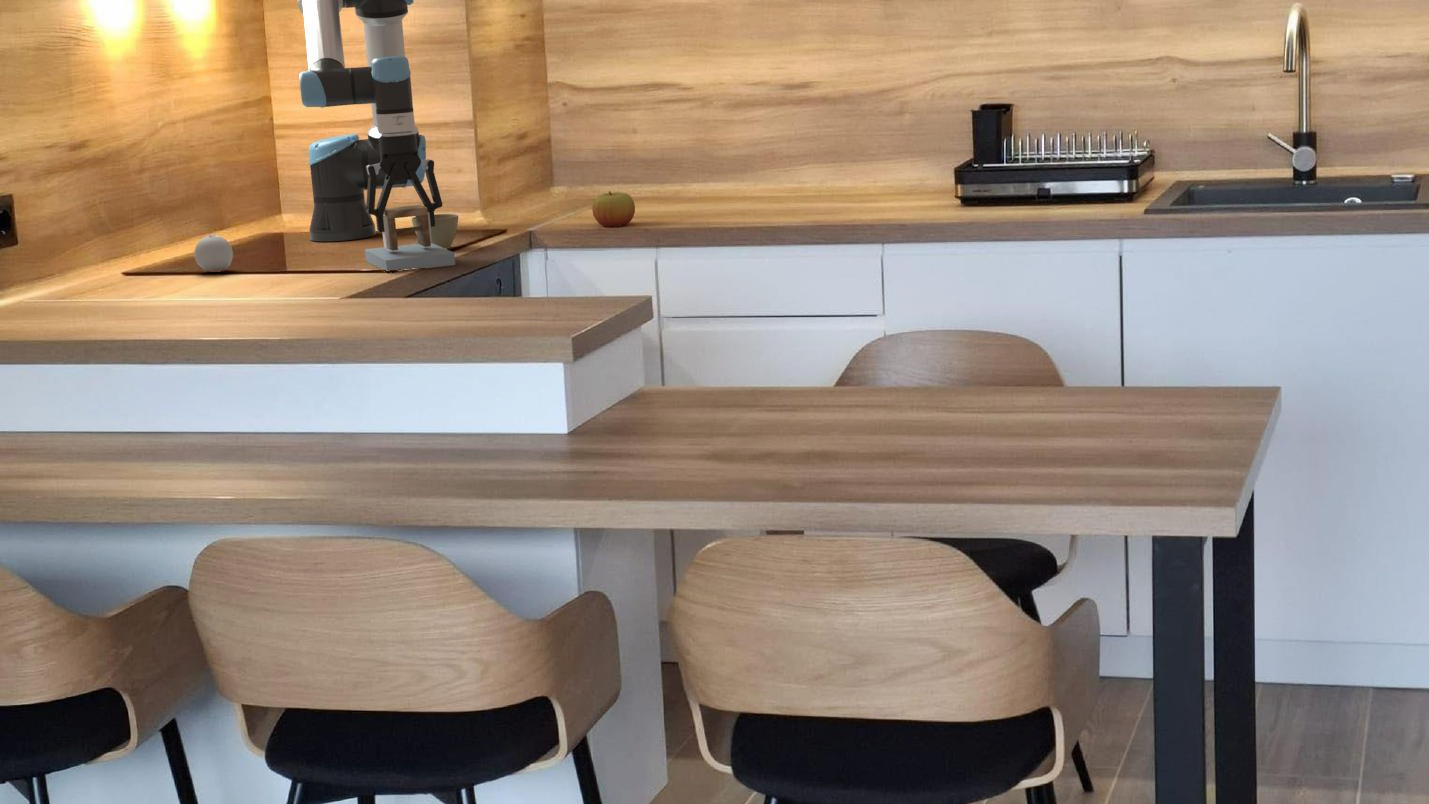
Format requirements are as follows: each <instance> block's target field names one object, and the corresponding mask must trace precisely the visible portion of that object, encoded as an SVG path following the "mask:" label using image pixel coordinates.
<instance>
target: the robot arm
mask: <svg viewBox="0 0 1429 804" xmlns="http://www.w3.org/2000/svg"><path fill="white" fill-rule="evenodd" d="M412 4H414V0H297V6H298V8H299V11H300V12H301V13H302V15H303V23H304V34H305V47H306V59H307V69H308V70H303V71H301V72H299V75H298V77H299V79H298V80H299V89H300V97H301V98H300V99H301V103H302V105H303V106H304V107H306V108H328V107H331V108H332V107H340V106H341V107H343V106H351V105H352V106H353V105H367V104H369V105H371V113H372V123H373V124H372V126H371V127H370V128H369V129H368V131H367V138H366V139H360V136H359V135H358V134H357V133H350V134H344V135H338V136H333V137H328V138H323V139H320V140H317V141H315V142H313V143H311V144H310V145H309V146H308V147H309V148H308V158H309V159H308V166H310V167H309V168H310V169H309V170H310V177H311V179H310V180H311V188H312V197H313V210H312V211H313V212H312V215H311V216H312V217H311V219H310V225H309V231H308V232H309V240H310V241H312V242H343V241H352V240H359V239H360V240H361V239H365V238H371V237H375V235H377V232H378V233H382V242H383V243H382V244H383V247H385V248H387V249H389V248H390V239H389V229H388V219H387V216H385V215H383V214H384V211H385V208H386V207H387V205H388V201H389V199H390V194H391V192H392V189H394V188H395V189H396V188H403V189H406V188H408V187H413V188H414V189H415V191H416V193H417V195H418V197H419V199H420V201H421V203H422V205H423V206H425V207H427V212H428V222H429V232H430V243H431V244H432V235H431V227H434V226H435V217H434V214H435V210H437V209H439V208H442V207H443V201H442V198H441V194H440V190H439V186H438V183H437V179H436V174H435V161H434V160H433V159H430V158H429V159H428V158H427V151H426V150H427V148H426V147H427V142H426V141H427V140H426V136H425V135H423V134H419V133H420V132H419V128H418V126H416V122H415V114H414V106H413V104H414V103H413V93H412V92H413V91H412V80H411V79H412V78H411V74H412V72H411V68H410V63H409V59H408V57H406V51H405V50H406V48H405V40H404V39H405V38H404V30H403V19H404V18H405V17H406V16H407V15H408V13H409V9H408V8H409V7H408V6H410V5H412ZM345 8H346V9H348V8H351V9H352V8H354V11H355V17H357V18H358V19H359V20H361V21H362V24H363V31H364V32H363V33H364V41H365V52H366V63H367V66H359V67H357V66H356V67H346V65H345V64H346V63H345V55H344V45H343V37H342V36H343V35H342V27H341V19H340V16H341V15H340V13H341V11H342V10H343V9H345ZM426 158H427V159H426ZM425 176H426V179H427V183H428V187H429V188H428V189H429V191H430V194H431V195H430V196H431V199H432V201H431V199H430V197H429V196H428V194H427V192H426V190H425V188H424V187H423V185H422V183H423V182H424V180H425ZM377 190H381V193H380V195H379V199H378V202H377V205H376V192H377ZM365 191H367V192H366V198H365ZM365 199H366V200H365ZM375 207H376V208H375ZM371 215H372V216H375V220H376V221H374V220H373V218H372V216H371ZM375 222H376V225H375ZM376 230H377V231H376Z"/></svg>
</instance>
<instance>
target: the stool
mask: <svg viewBox="0 0 1429 804" xmlns="http://www.w3.org/2000/svg"><path fill="white" fill-rule="evenodd" d="M383 215H385V216H387V219H388V229H389V239H390V248H389V249H390V250H392V251H394V250H398V246H399V245H398V235H397V234H401V233H402V234H403V233H411V232H412V233H413V232H415V231H417V235H416V237H417V244H420V245H422V246H424V247H429V246H431V243H430V232H429V222H428V212H427V207H425V206H424V205H423V204H416V205H415V204H414V205H405V206H397V207H396V206H395V207H387V208H385V211H384V214H383ZM408 217H411V218H412V217H416V227H413V226H410V227H401V228H397V226H396V225H397V224H396V219H400V218H402V219H403V218H408Z"/></svg>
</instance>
